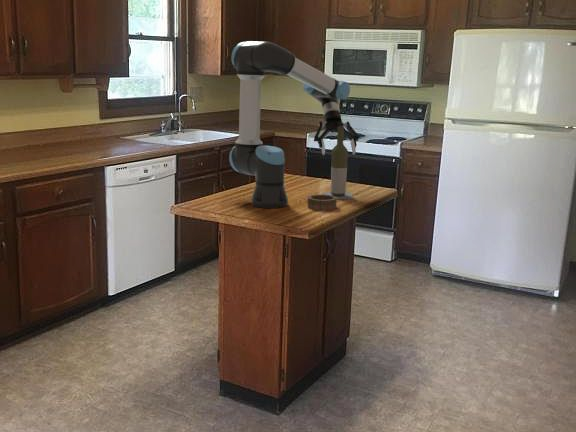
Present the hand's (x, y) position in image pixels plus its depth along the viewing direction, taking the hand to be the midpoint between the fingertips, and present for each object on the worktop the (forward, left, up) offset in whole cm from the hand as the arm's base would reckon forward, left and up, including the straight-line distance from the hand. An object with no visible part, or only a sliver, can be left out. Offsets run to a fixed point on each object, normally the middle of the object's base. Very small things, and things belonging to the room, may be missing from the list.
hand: (339, 153), depth 279 cm
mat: (0, -3, -19) cm, 19 cm away
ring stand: (-10, -23, -19) cm, 31 cm away
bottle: (0, -3, -18) cm, 18 cm away
